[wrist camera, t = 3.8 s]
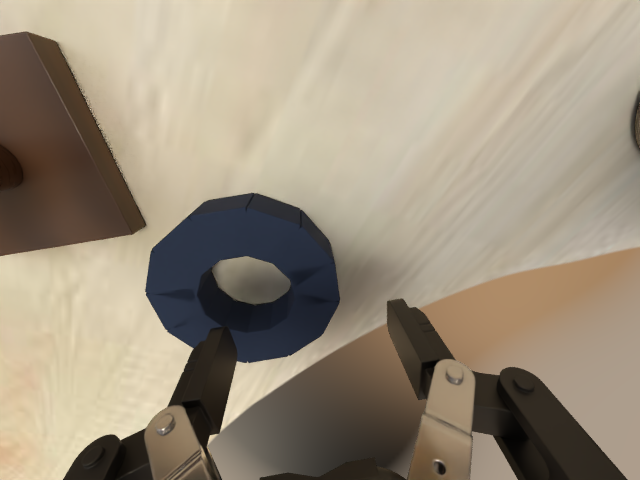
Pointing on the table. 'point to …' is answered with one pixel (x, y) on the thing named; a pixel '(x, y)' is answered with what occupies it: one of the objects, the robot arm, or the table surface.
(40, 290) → the table surface
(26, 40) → the stand
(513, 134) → the table surface
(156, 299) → the ring
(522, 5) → the table surface
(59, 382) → the table surface
